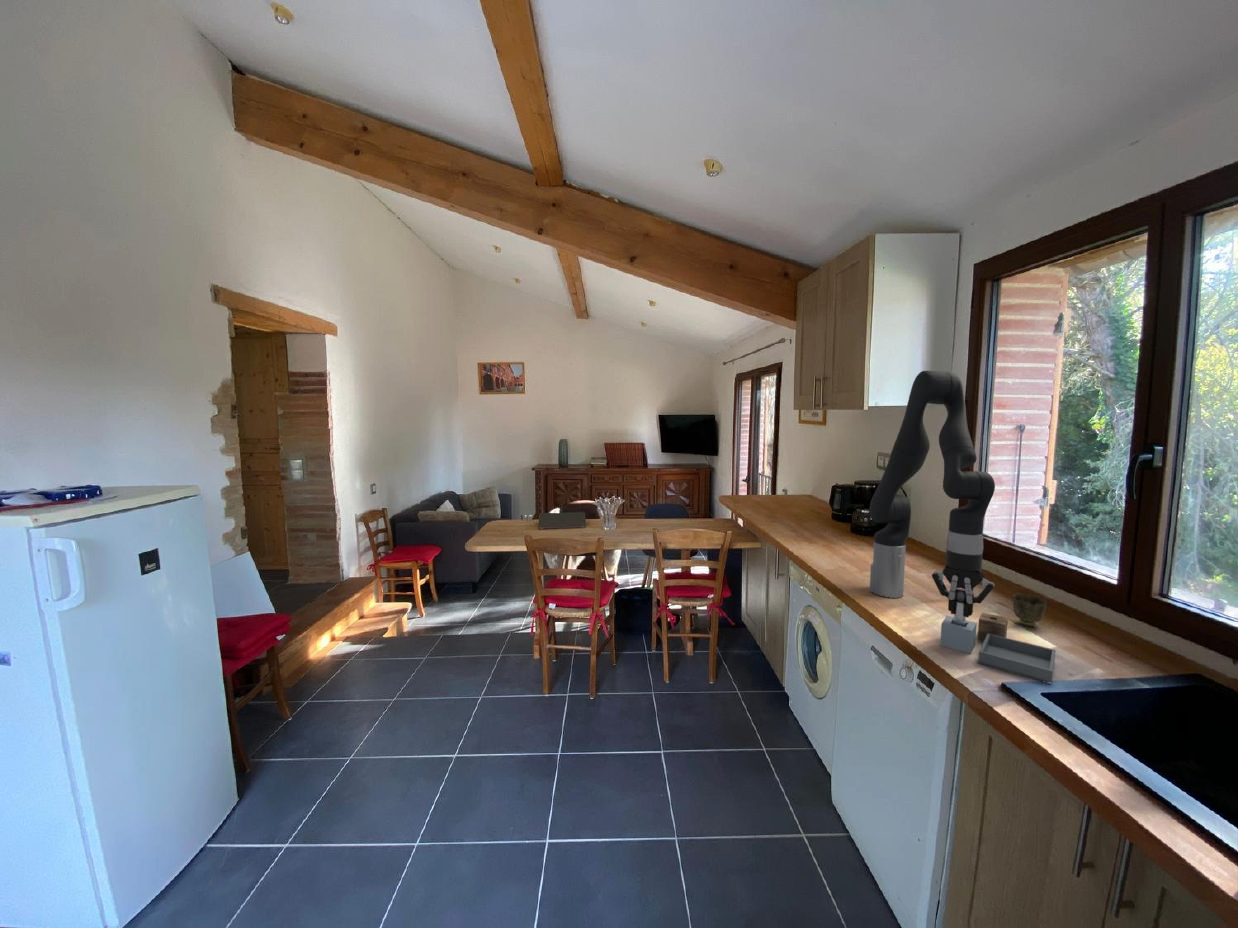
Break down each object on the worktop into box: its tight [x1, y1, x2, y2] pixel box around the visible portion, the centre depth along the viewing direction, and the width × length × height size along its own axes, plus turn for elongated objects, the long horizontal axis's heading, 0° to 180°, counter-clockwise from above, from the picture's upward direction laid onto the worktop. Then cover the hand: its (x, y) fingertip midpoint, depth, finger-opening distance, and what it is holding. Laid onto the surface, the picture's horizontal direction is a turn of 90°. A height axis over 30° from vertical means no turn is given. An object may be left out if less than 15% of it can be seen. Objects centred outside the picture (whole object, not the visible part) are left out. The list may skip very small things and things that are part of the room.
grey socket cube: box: [939, 615, 978, 655], centre depth 126 cm, size 6×6×6 cm
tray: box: [978, 633, 1057, 683], centre depth 117 cm, size 13×13×3 cm
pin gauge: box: [953, 588, 967, 627], centre depth 125 cm, size 2×2×12 cm
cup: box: [1012, 592, 1048, 628], centre depth 137 cm, size 8×7×8 cm
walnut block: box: [976, 612, 1009, 643], centre depth 129 cm, size 6×6×6 cm
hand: (960, 614), depth 125 cm, fingers closed on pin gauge, 2 cm apart
